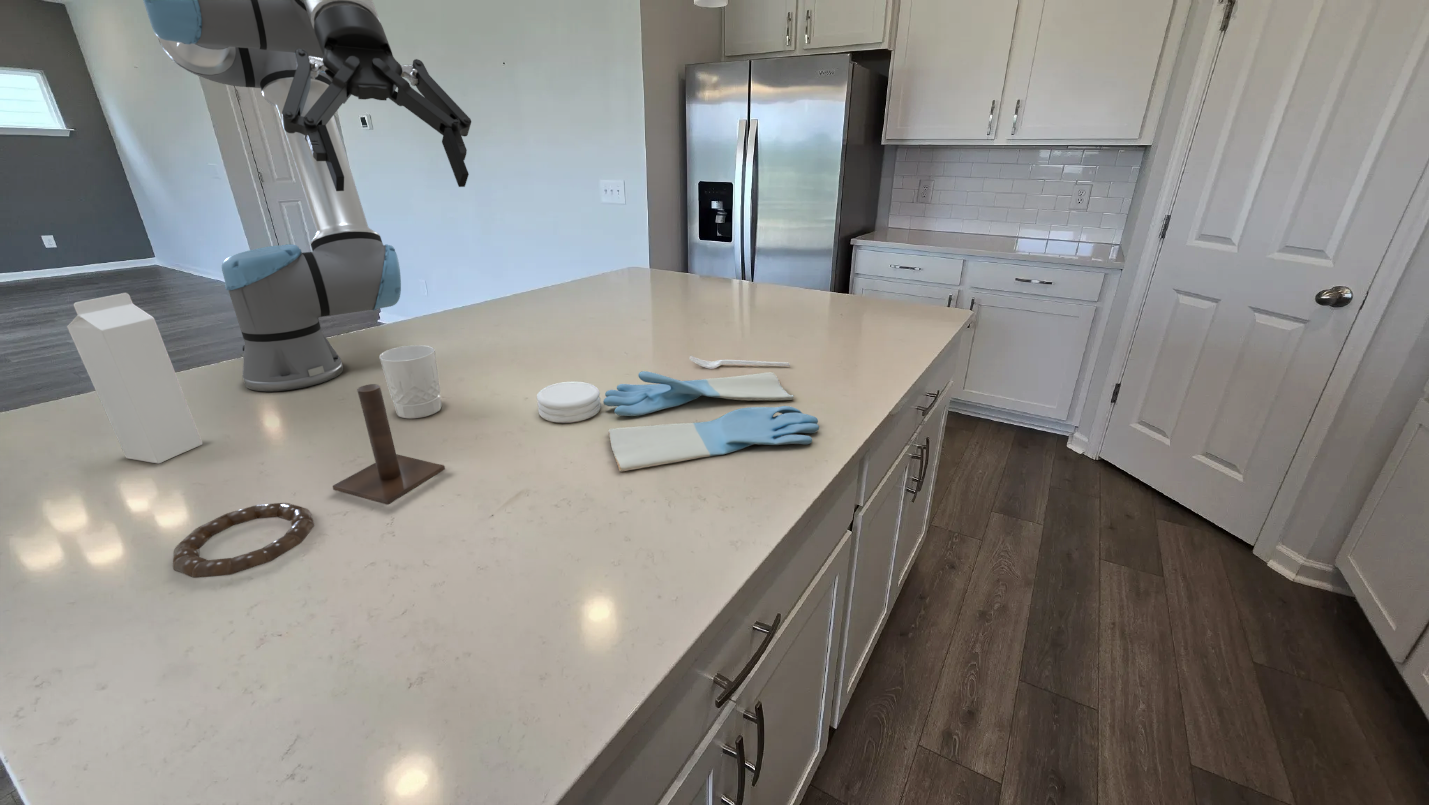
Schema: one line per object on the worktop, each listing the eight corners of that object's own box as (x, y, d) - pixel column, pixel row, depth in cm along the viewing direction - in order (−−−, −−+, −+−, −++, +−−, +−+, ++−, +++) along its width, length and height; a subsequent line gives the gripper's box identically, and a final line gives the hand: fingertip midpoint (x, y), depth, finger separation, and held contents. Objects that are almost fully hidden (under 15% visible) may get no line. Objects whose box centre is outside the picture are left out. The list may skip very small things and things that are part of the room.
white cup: (425, 422, 92) (412, 362, 88) (381, 418, 93) (367, 358, 89) (455, 403, 99) (445, 346, 95) (414, 399, 100) (402, 343, 96)
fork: (790, 370, 115) (790, 360, 114) (689, 368, 115) (688, 359, 114) (788, 364, 118) (789, 355, 117) (690, 362, 118) (689, 354, 117)
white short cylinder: (526, 411, 96) (524, 391, 94) (577, 394, 103) (576, 375, 101) (561, 430, 90) (559, 409, 88) (613, 410, 96) (611, 391, 95)
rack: (335, 496, 72) (305, 395, 67) (395, 462, 80) (372, 370, 75) (389, 511, 69) (363, 407, 64) (446, 475, 77) (427, 380, 72)
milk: (125, 459, 80) (52, 301, 72) (172, 439, 86) (110, 290, 77) (159, 464, 79) (89, 304, 70) (204, 444, 84) (145, 293, 76)
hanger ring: (149, 566, 60) (142, 551, 59) (267, 505, 70) (263, 491, 69) (227, 597, 56) (220, 580, 55) (340, 527, 66) (335, 513, 66)
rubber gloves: (838, 443, 86) (842, 403, 84) (618, 473, 78) (615, 430, 75) (770, 378, 110) (772, 346, 108) (596, 396, 102) (593, 361, 99)
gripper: (213, -18, 61) (276, 164, 59) (458, 16, 76) (514, 161, 74) (223, 39, 67) (281, 205, 65) (448, 59, 82) (500, 195, 80)
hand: (405, 182), depth 69 cm, fingers open, 13 cm apart
